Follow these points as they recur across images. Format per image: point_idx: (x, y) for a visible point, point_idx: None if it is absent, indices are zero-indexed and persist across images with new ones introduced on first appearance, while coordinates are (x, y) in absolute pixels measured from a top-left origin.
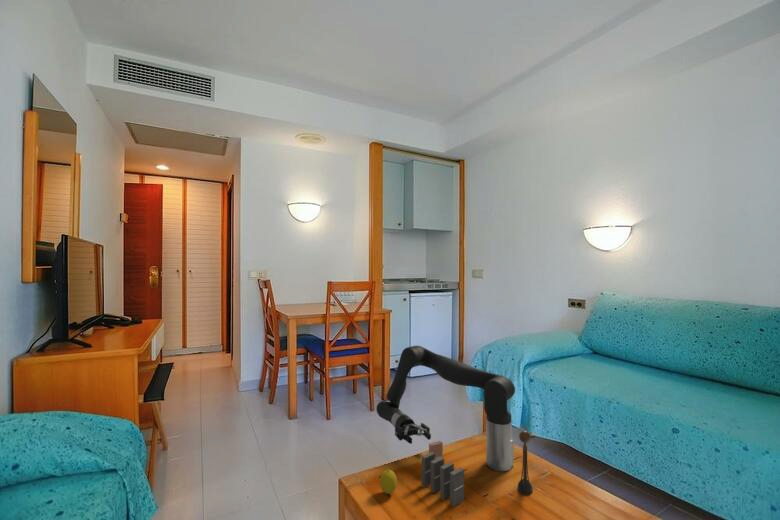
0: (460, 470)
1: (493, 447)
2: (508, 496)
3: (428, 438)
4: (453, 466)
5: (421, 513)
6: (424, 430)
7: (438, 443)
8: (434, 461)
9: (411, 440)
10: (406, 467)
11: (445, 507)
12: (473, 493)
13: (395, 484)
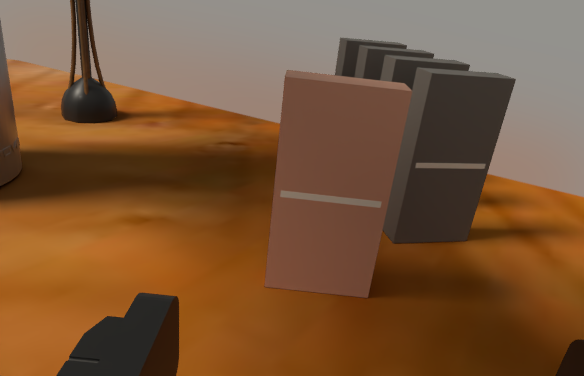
0: (357, 39)
1: (2, 42)
2: (170, 124)
3: (173, 368)
4: (359, 57)
5: (501, 177)
6: None
7: (327, 75)
8: (447, 61)
9: (576, 361)
10: None
11: None
12: (264, 156)
13: None
